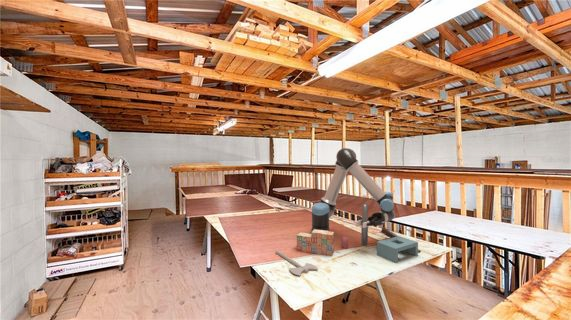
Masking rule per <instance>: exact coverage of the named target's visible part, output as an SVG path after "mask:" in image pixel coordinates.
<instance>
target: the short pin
mask: <svg viewBox="0 0 571 320" xmlns="http://www.w3.org/2000/svg"><path fill="white" fill-rule="evenodd" d="M348 241H349V237H348V236H346V235H343V236H341V248H342V249H348V248H349V247H348V245H349V242H348Z"/></svg>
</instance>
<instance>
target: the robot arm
mask: <svg viewBox="0 0 571 320" xmlns="http://www.w3.org/2000/svg"><path fill="white" fill-rule="evenodd" d="M335 159H336V161H335V169H334V172H333V174H332V176H331V180H330V181H329V184H328V187H327V189H326V191H325V194H324V196H322V197H321V199H320V201H319V202H317V203H314V204H313V205H312V206H311V229H310V232H309V234H311V232H312V231H313V230H314V229H316V230H325V231H331V229H330V218H331V217H332V216H333V215H334V214H335V209H336V206H337V202H336V201H337V198H338V196H339V194H340V192H341V189H342V186H343V183H344V181H345V179H346V177H347V174H348V172H349V173H350V174H351V175H352V177H354V178H355V180H357V182H358V183H359V184H360V185H361V186H362V188H364V190H365V191H366V192H367V193H368V194H369V195H370V196H371V197H372V198H373V200H374V201H375V202H376V203H377V205H379V207H380V210H379V211H377V212H374V213H372V215H371V216H370V215H369V216H368V221H367V222H364V223H363V228H365V227H368V228H369V227H374V228H375V227H377V226H381V225H385V223H388V222H391V221H392V220H394V219H395V218H396V212H395V211H394V206H395V204H394V193H393V192H390V191H384V190H383V189H382V188H381V187H380V185H378V184H377V182H376V181H375V180H374V179H373V178H372V177H371V176H370V174H369V173H368V172H367V171H366V170H365V168H364V169H363V167H362V166H361V165H360V164H359V160H357V155H356V152H355V151H354V150H353V149H351V148H345V147H343V148H341V149H339V150H338V151H337V153H336V158H335ZM355 226H356V227H359V226H362V216H361V217H359V218H358V220H356V221H355Z"/></svg>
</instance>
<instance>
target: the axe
mask: <svg viewBox="0 0 571 320" xmlns="http://www.w3.org/2000/svg"><path fill="white" fill-rule="evenodd" d="M275 254H276V255H278V256H280V257H281V258H283V259H285V260H286V261H287V262H288V263H290V264H292V265H293V266H295V267H289V272H290V273H292V274H294V275H297V276H298V277H299V276H301V274H303V273H305V274H308V273H309V271H318V267H317V266H316V265H314V264H312V263H309V262H306V263H305V265H301V264H300V263H299V262H297V261H296V260H294V259H293V258H291V257H289V256H287V255H286V254H285V253H283V252H281V251H280V250H279V249H276V250H275Z"/></svg>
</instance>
